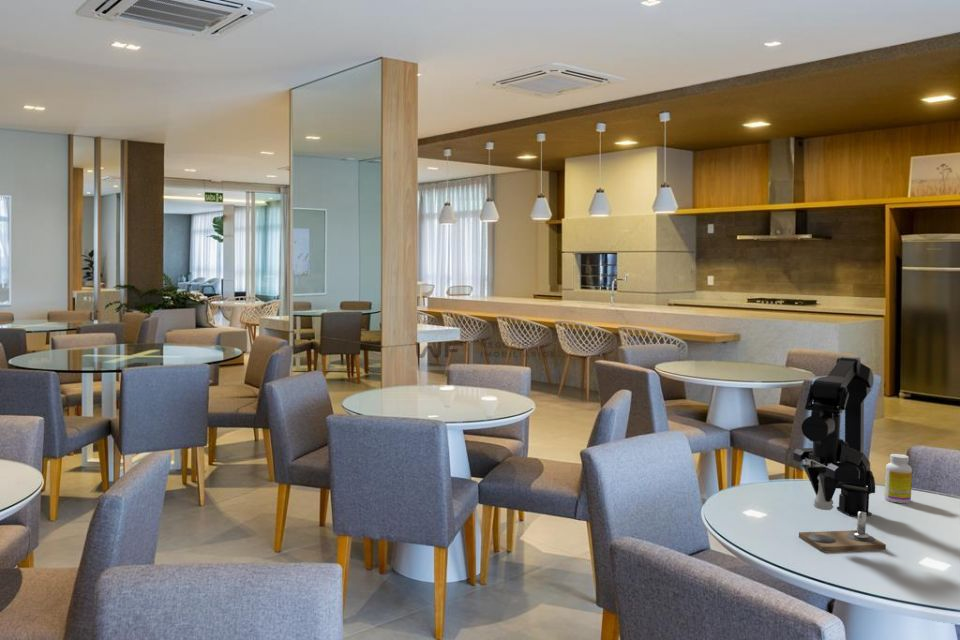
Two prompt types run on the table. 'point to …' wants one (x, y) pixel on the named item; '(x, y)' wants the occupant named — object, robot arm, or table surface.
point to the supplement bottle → (898, 479)
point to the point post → (861, 526)
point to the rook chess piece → (822, 499)
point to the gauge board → (840, 541)
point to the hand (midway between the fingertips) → (823, 498)
